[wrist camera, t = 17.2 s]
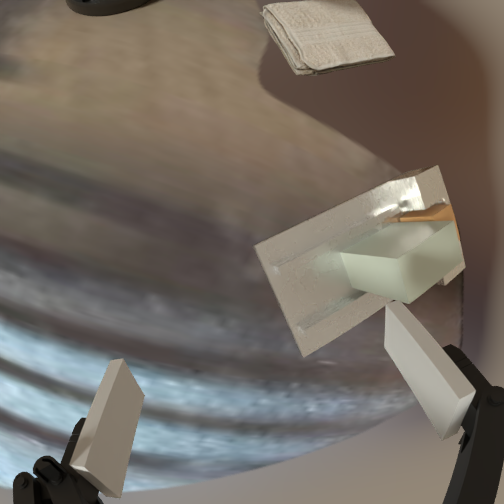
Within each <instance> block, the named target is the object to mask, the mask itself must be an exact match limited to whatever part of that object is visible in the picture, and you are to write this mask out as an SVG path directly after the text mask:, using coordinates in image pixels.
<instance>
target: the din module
mask: <svg viewBox="0 0 504 504" xmlns="http://www.w3.org/2000/svg"><path fill="white" fill-rule="evenodd" d="M340 254H341V257H342V260H343V262H344V265H345V268H346V271H347V274H348V277H349V280H350V283H351V286H352V288H355V289H359V290H362V291H366V292H369V293H373V294H376V295H379V296H383V297H386V298H390V299H393V300H400V301H401V302H404V303H407V304H410V303H411V302H412V301H414V300H415V299H416V298H418V297H419V296H420V295H422V294H423V293H424V292H425V291H427V290H428V289H429V288H430V287H432V286H433V285H434V284H436V283H437V282H438V281H439V280H440V279H442V278H443V277H444V276H445V275H447V274H448V273H449V272H450V271H451V270H453V269H454V268H455V267H456V266H457V265H458V264H460V263H461V262H462V261H463V260H462V255H461V250H460V245H459V240H458V236H457V232H456V228H455V223H454V221H423V222H396V223H393V224H391V225H389V226H388V227H386V228H384V229H382V230H380V231H379V232H377V233H375V234H373V235H371V236H369V237H368V238H366V239H364V240H362V241H360V242H358V243H357V244H355V245H353V246H351V247H349V248H347V249H346V250H344V251H342V252H340Z"/></svg>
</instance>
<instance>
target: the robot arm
mask: <svg viewBox="0 0 504 504" xmlns="http://www.w3.org/2000/svg"><path fill="white" fill-rule="evenodd" d="M148 1H149V0H66V3H67V5H68V6H69V8H70V9H72V10H73V11H75V12H77V13H79V14H83V15H89V16H102V15H110V14H115V13H120V12H123V11H127V10H130V9H132V8H135V7H138V6H140V5H142V4H144V3H146V2H148ZM384 347H385V349H386V350H387V352H388V353H389V355H390V356H391V358H392V360H393V361H394V363H395V364H396V366H397V367H398V369H399V371H400V372H401V374H402V375H403V377H404V378H405V380H406V382H407V383H408V385H409V386H410V388H411V390H412V391H413V393H414V395H415V396H416V398H417V399H418V401H419V403H420V404H421V406H422V408H423V409H424V411H425V413H426V414H427V416H428V418H429V420H430V421H431V423H432V425H433V426H434V428H435V430H436V431H437V433H438V435H439V436H440V438H441V440H442V441H443V440H445V439H447V438H449V437H451V436H453V435H455V434H456V433H457V432H458V430H459V428H460V426H462V427H463V429H464V430H465V432H464V434H463V436H462V438H461V439H460V441H459V444H461V446H460V450H459V454H458V458H457V462H456V465H455V468H454V471H453V475H452V478H451V481H450V485H449V487H448V490H447V493H446V496H445V498H444V501H443V504H494V502H495V498H496V494H497V490H498V486H499V481H500V476H501V471H502V467H503V461H504V388H502V387H498V386H491V385H490V383H489V382H488V381H487V380H486V379H485V377H484V376H483V375H482V374H481V373H480V371H479V370H478V369H477V368H476V367H475V366H474V364H472V362H471V361H470V360H469V359H468V358H467V357H466V355H465V354H464V353H463V352H462V351H461V350H460V349H459V348H457V347H455V346H453V345H451V344H450V345H447V346H445V347H443V348H441V347H440V345H439V344H438V343H437V342H436V341H435V340H434V338H433V337H432V336H431V335H430V334H429V333H428V331H427V330H426V329H425V328H424V327H423V326H422V325H421V323H420V322H419V321H418V320H417V319H416V318H415V317H414V316H413V314H412V313H411V312H410V311H409V310H408V309H407V308H406V307H405V306H404V304H403V303H402V302H401V301H400V300H397V301H394V302H391V303H387V304H386V317H385V344H384ZM144 396H145V395H144V394H143V392H142V390H141V389H140V387H139V385H138V384H137V382H136V380H135V379H134V377H133V375H132V373H131V372H130V370H129V368H128V366H127V364H126V363H125V361H124V359H116V360H111V361H110V363H109V365H108V368H107V370H106V372H105V375H104V377H103V379H102V381H101V384H100V386H99V389H98V391H97V393H96V396H95V398H94V401H93V403H92V405H91V408H90V410H89V413H88V415H87V418H81V419H80V420H79V421H78V423H77V424H76V425H75V427H74V430H73V432H72V436H71V437H70V440H69V442H68V445H67V448H66V450H65V453H64V456H63V458H62V461H61V464H59V463H58V462H57V461H56V460H55V459H54V458H53V457H51V456H43V457H41V458H39V459H38V460H37V461H36V463H35V464H34V467H33V473H34V474H35V475H36V476H37V477H38V478H34V477H33V476H32V475H31V474H30V473H28V472H21V473H19V474H18V475H17V476H16V477H15V479H14V482H13V502H14V504H103V502H102V500H101V499H100V498H99V497H98V493H99V491H100V492H101V493H103V494H104V495H105V496H107V497H114V498H121V495H122V490H123V485H124V480H125V476H126V471H127V466H128V462H129V457H130V453H131V449H132V444H133V440H134V436H135V432H136V428H137V424H138V420H139V416H140V412H141V408H142V404H143V400H144Z"/></svg>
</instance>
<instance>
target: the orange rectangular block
mask: <svg viewBox="0 0 504 504" xmlns="http://www.w3.org/2000/svg"><path fill="white" fill-rule="evenodd" d="M400 221H401V222H423V221H454V223H455V228H456V232H457V236H458V240H460V236H459V232H458V228H457V224H456V220H455V216H454V212H453V209H452V205H451V204H445V205H434V206H430V207H429V208H427V209H425V210H412V211H411V212H409V213H407V214H406V215H404V216H402V217H400Z"/></svg>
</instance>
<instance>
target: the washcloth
mask: <svg viewBox="0 0 504 504" xmlns="http://www.w3.org/2000/svg"><path fill="white" fill-rule="evenodd" d="M263 10H264V11H263V12H260V13H259V14H260V15H262V16H263V17H264V22H265V26H266V28H267V29H268V31H269V33H270V35H271V37H272V38H273V39H274V41H275V42H276V44H277V45H278V47H279V48H280V50H281V51H282V53H283V55H284V57H285V58H286V60H287V61H288V63H289V65H290V66H291V68H292V69H293V71H294V72H295V74H296V75H307V76H316V75H321V74H326V73H329V72H332V71H337V70H344V69H349V68H354V67H358V66H363V65H369V64H375V63H381V62H385V61H389V60H391V59H393V58H394V57H395V55H394V52H393V51H392V50H391V48H390V47H389V45H388V44H387V42H386V41H385V40H384V38H383V37H382V36H381V35H380V34H379V33H378V31H377V30H376V29H375V27H374V26H373V25H372V22H371V20H370V19H369V17H368V15H367V14H366V13H365V11H364V10H363V9H362V7H361V6H360V5H359V4H358V3H357V2H356V1H355V0H310V1H309V0H308V1H307V0H305V1H299V2H289V3H288V2H283V3H275V4H268V5H265V6H263Z"/></svg>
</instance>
